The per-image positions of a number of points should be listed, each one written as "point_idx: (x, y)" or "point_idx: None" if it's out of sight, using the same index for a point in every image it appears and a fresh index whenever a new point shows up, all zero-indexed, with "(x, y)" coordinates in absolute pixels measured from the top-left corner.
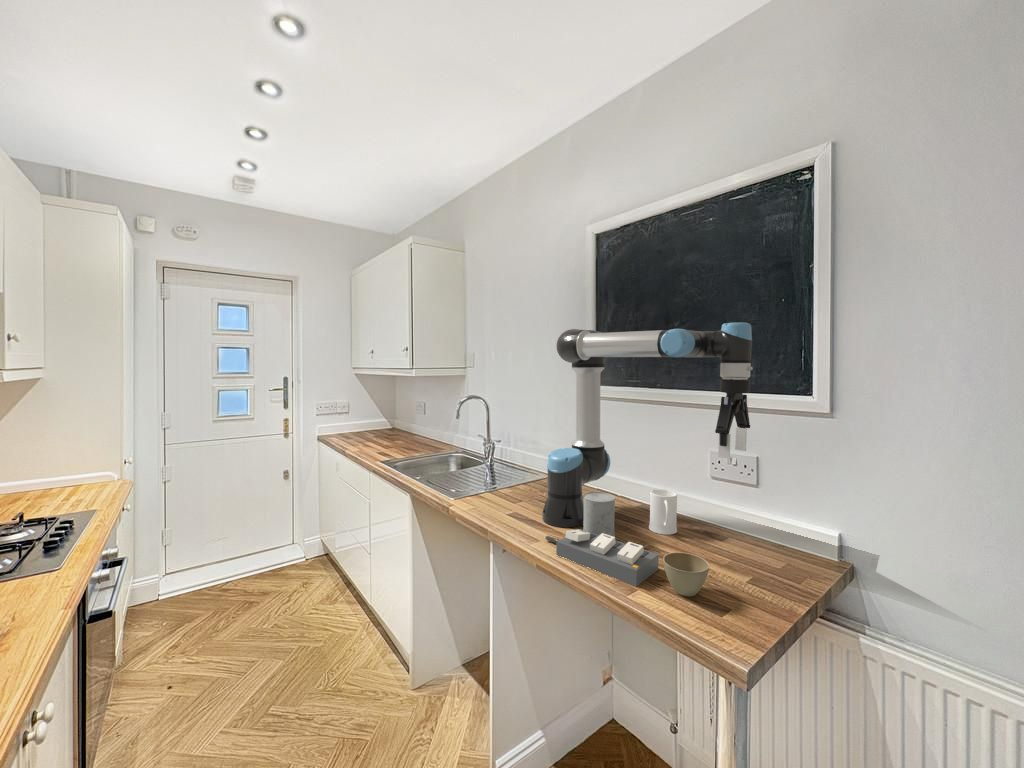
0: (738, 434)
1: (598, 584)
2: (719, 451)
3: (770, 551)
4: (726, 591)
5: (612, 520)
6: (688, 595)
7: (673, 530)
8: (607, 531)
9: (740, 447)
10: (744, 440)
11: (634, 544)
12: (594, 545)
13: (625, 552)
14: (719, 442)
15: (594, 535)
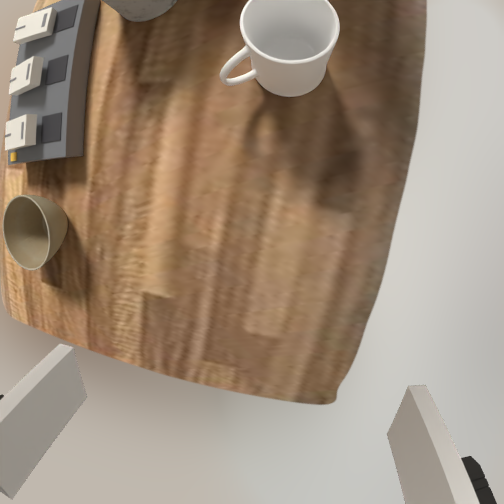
0: (434, 496)
1: None
2: (40, 368)
3: (322, 306)
4: (94, 272)
5: (125, 3)
6: (45, 233)
7: (277, 91)
8: (121, 12)
9: (401, 427)
10: (406, 486)
11: (22, 129)
12: (11, 77)
13: (10, 131)
14: (3, 402)
15: (70, 24)
